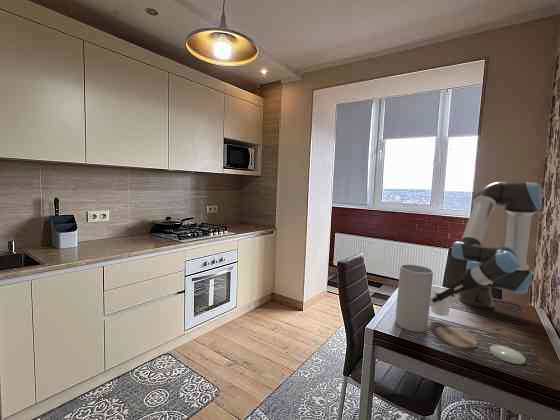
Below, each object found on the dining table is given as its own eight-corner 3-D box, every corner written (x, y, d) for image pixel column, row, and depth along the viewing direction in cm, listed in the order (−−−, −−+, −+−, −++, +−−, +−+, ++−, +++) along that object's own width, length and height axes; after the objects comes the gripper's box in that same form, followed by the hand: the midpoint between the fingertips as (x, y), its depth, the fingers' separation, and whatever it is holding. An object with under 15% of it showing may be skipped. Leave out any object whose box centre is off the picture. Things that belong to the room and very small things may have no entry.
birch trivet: (452, 327, 122) (452, 324, 122) (485, 345, 109) (485, 342, 109) (427, 331, 117) (427, 328, 117) (458, 350, 104) (459, 347, 104)
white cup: (426, 308, 130) (428, 287, 129) (442, 308, 131) (444, 287, 130) (436, 316, 122) (439, 294, 121) (454, 316, 123) (456, 294, 122)
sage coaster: (501, 346, 109) (501, 343, 109) (531, 361, 100) (532, 359, 100) (483, 349, 106) (483, 347, 106) (513, 366, 96) (513, 363, 96)
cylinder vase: (411, 317, 130) (416, 263, 127) (434, 331, 118) (440, 272, 116) (388, 320, 126) (393, 264, 123) (409, 334, 114) (415, 273, 112)
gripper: (473, 291, 107) (426, 315, 121) (493, 281, 119) (448, 304, 133) (459, 273, 110) (415, 298, 125) (480, 266, 123) (437, 289, 137)
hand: (432, 301), depth 129 cm, fingers closed on white cup, 8 cm apart
